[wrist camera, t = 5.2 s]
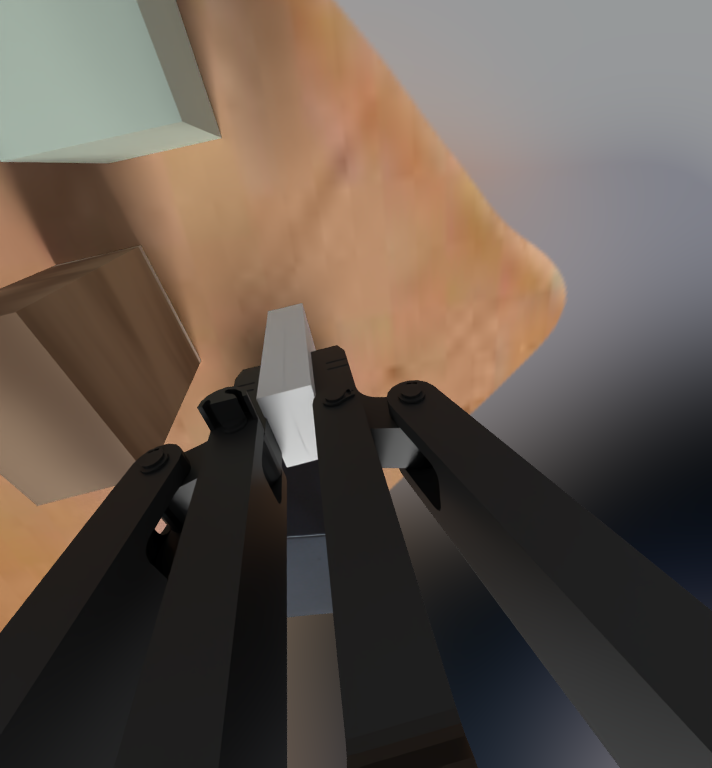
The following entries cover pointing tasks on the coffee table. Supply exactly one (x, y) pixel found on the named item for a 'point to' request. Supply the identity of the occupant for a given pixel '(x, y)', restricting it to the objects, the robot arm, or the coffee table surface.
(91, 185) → the coffee table surface
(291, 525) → the small box
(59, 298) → the walnut block
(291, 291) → the coffee table surface
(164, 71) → the sage block
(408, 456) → the robot arm
